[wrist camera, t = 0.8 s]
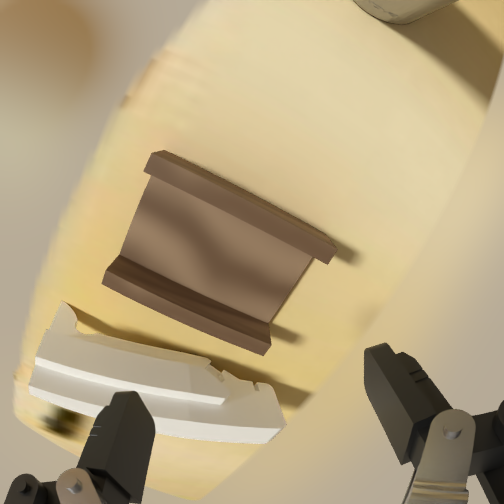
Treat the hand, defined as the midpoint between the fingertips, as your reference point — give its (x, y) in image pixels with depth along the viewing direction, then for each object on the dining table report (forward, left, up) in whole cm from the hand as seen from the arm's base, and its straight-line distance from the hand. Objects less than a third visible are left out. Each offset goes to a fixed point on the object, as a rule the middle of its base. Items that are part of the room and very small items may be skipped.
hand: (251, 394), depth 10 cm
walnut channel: (+3, -1, -19) cm, 19 cm away
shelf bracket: (+17, -1, -19) cm, 25 cm away
